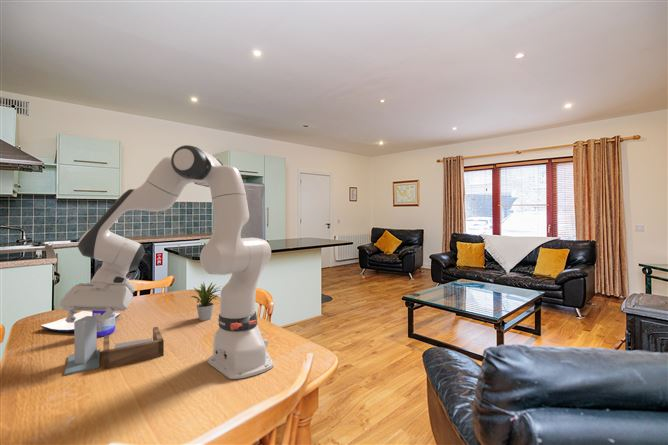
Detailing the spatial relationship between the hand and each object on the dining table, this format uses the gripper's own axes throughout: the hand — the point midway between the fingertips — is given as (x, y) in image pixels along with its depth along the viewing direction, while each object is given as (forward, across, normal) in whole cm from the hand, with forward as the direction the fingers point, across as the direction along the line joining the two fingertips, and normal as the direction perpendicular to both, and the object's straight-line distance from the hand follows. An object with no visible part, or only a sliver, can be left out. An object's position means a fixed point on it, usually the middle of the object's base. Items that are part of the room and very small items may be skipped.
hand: (84, 322), depth 97 cm
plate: (-14, -26, +32) cm, 44 cm away
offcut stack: (+6, +13, +12) cm, 19 cm away
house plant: (-19, +22, +38) cm, 47 cm away
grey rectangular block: (+8, 0, +9) cm, 12 cm away
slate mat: (+9, 0, +9) cm, 13 cm away
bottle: (-7, -10, +25) cm, 28 cm away
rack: (+4, +10, +14) cm, 18 cm away
